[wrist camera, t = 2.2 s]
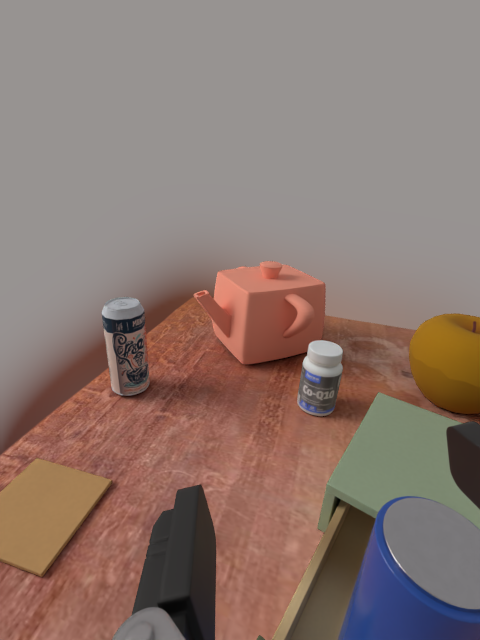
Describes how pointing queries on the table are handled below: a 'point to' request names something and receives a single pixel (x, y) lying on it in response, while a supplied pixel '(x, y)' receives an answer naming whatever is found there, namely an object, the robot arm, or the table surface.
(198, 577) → the robot arm
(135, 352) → the beer can
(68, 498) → the coaster
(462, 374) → the apple
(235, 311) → the teapot
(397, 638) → the blue can
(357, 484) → the drawer unit
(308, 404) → the pill bottle
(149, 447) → the table surface
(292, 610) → the drawer
